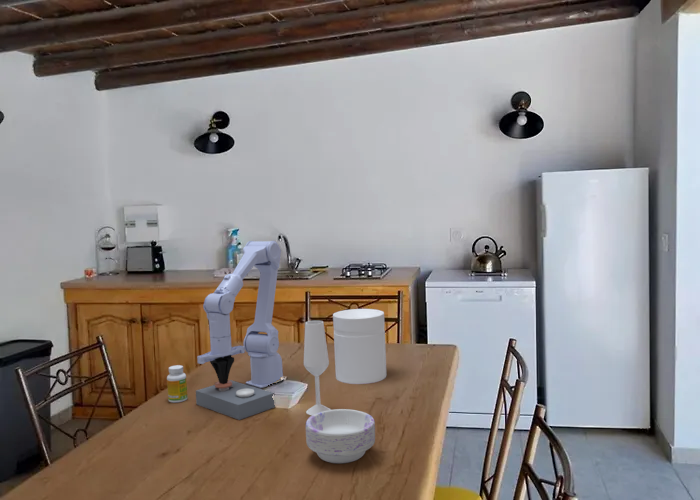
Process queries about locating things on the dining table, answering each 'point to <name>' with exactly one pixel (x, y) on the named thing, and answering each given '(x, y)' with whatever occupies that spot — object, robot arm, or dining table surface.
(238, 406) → the panel
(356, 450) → the paper bowls
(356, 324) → the canister
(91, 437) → the dining table surface
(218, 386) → the red plunger
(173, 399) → the supplement bottle
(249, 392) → the grey plunger
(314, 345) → the champagne flute
